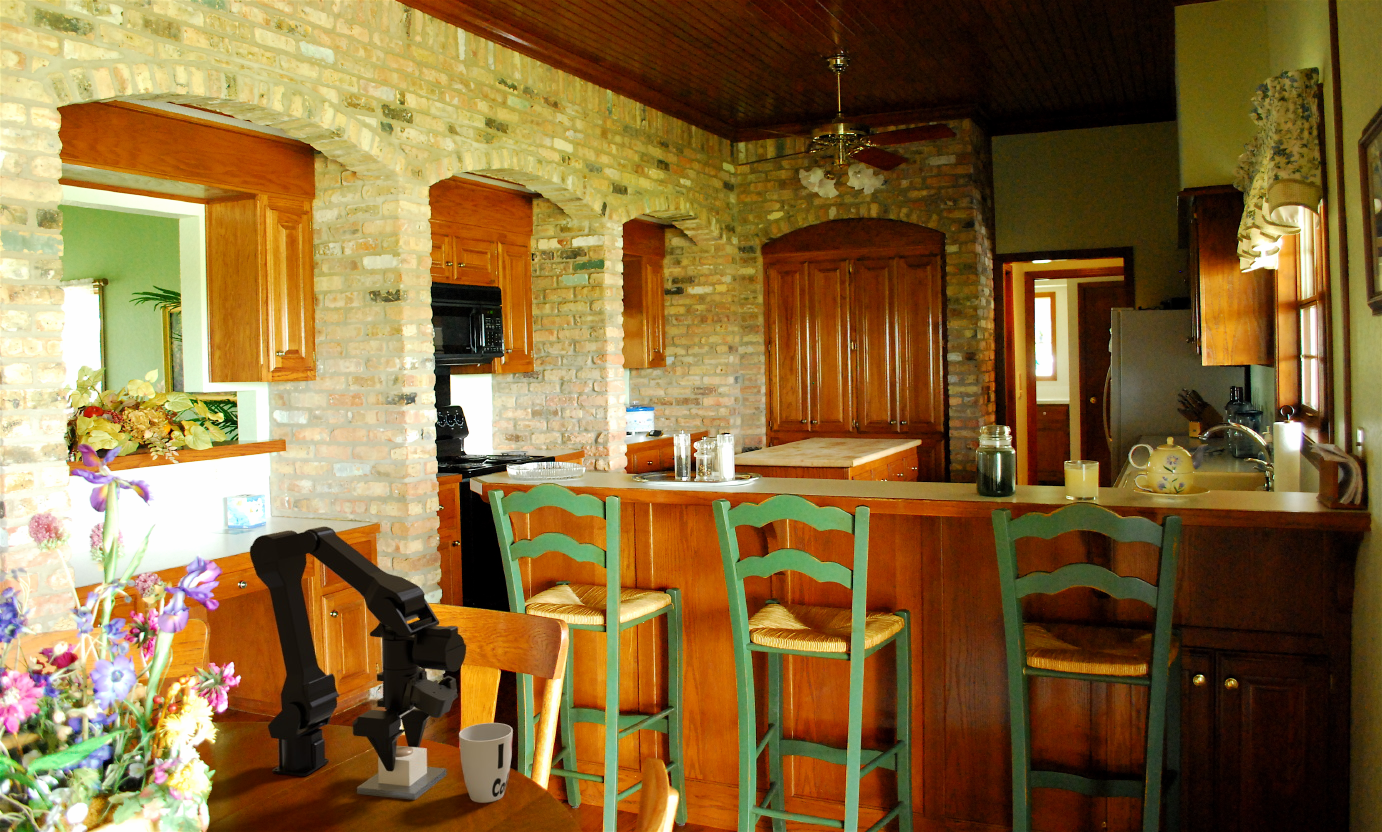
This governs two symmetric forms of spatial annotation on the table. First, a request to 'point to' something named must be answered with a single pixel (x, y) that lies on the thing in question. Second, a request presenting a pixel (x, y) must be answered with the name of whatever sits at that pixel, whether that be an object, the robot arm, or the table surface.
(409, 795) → the post fixture
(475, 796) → the cup
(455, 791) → the table surface
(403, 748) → the cap
